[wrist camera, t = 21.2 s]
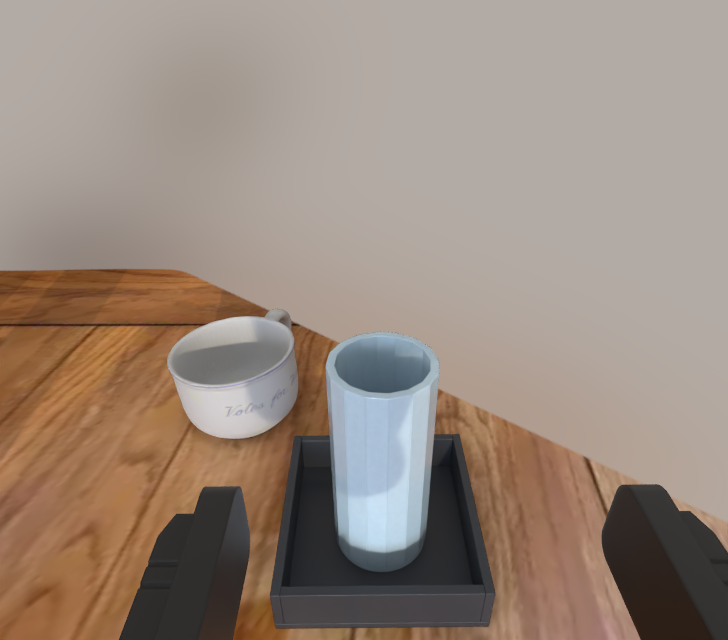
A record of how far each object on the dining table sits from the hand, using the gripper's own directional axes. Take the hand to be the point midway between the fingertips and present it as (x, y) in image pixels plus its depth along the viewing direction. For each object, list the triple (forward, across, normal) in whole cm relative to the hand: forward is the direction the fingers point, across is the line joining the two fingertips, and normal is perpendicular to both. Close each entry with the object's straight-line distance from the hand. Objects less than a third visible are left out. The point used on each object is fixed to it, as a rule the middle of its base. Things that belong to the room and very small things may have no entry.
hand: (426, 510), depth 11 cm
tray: (+17, 0, +24) cm, 29 cm away
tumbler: (+16, 0, +23) cm, 28 cm away
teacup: (+31, +12, +24) cm, 41 cm away
